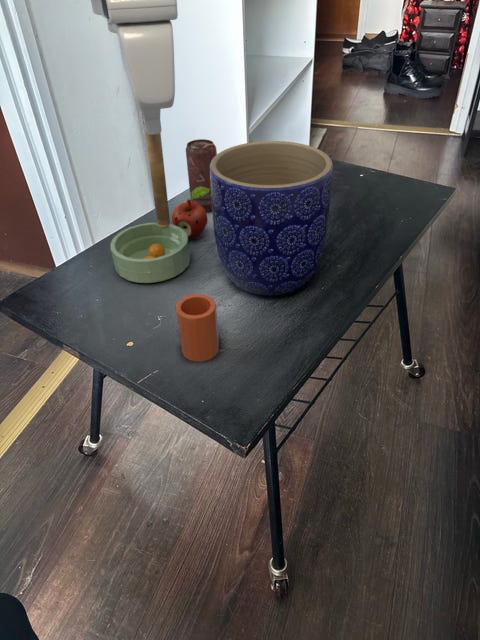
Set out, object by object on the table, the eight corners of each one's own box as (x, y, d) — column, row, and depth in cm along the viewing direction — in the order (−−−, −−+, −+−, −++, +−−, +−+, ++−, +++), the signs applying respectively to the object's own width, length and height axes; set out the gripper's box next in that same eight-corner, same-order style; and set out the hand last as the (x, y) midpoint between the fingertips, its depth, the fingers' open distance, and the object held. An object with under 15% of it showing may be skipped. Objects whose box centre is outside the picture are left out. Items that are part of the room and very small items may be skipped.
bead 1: (138, 272, 84) (143, 269, 82) (141, 255, 85) (145, 252, 82) (155, 275, 86) (160, 272, 83) (157, 259, 86) (162, 256, 83)
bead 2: (155, 263, 89) (151, 262, 86) (147, 248, 89) (143, 247, 86) (169, 256, 88) (165, 254, 85) (162, 241, 88) (158, 239, 85)
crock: (185, 365, 67) (179, 321, 62) (179, 340, 71) (173, 297, 66) (222, 357, 68) (219, 314, 63) (214, 333, 72) (210, 291, 67)
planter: (339, 266, 85) (353, 151, 72) (291, 322, 74) (297, 198, 60) (252, 240, 93) (250, 133, 80) (196, 287, 82) (183, 171, 68)
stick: (158, 231, 66) (139, 83, 54) (157, 225, 67) (138, 80, 55) (171, 230, 66) (155, 82, 54) (169, 224, 67) (154, 79, 56)
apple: (187, 249, 91) (181, 201, 85) (168, 236, 96) (161, 189, 89) (219, 236, 95) (215, 188, 89) (199, 224, 99) (194, 177, 93)
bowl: (118, 291, 81) (112, 267, 78) (114, 251, 92) (108, 228, 88) (196, 278, 84) (193, 253, 81) (183, 240, 94) (180, 217, 91)
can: (219, 213, 103) (215, 148, 94) (190, 213, 103) (183, 148, 94) (221, 200, 107) (217, 137, 99) (193, 201, 108) (186, 138, 99)
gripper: (98, -15, 56) (119, 108, 65) (107, 3, 41) (134, 161, 50) (151, -18, 58) (165, 103, 66) (179, -1, 42) (193, 153, 51)
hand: (152, 128), depth 58 cm, fingers closed on stick, 2 cm apart
